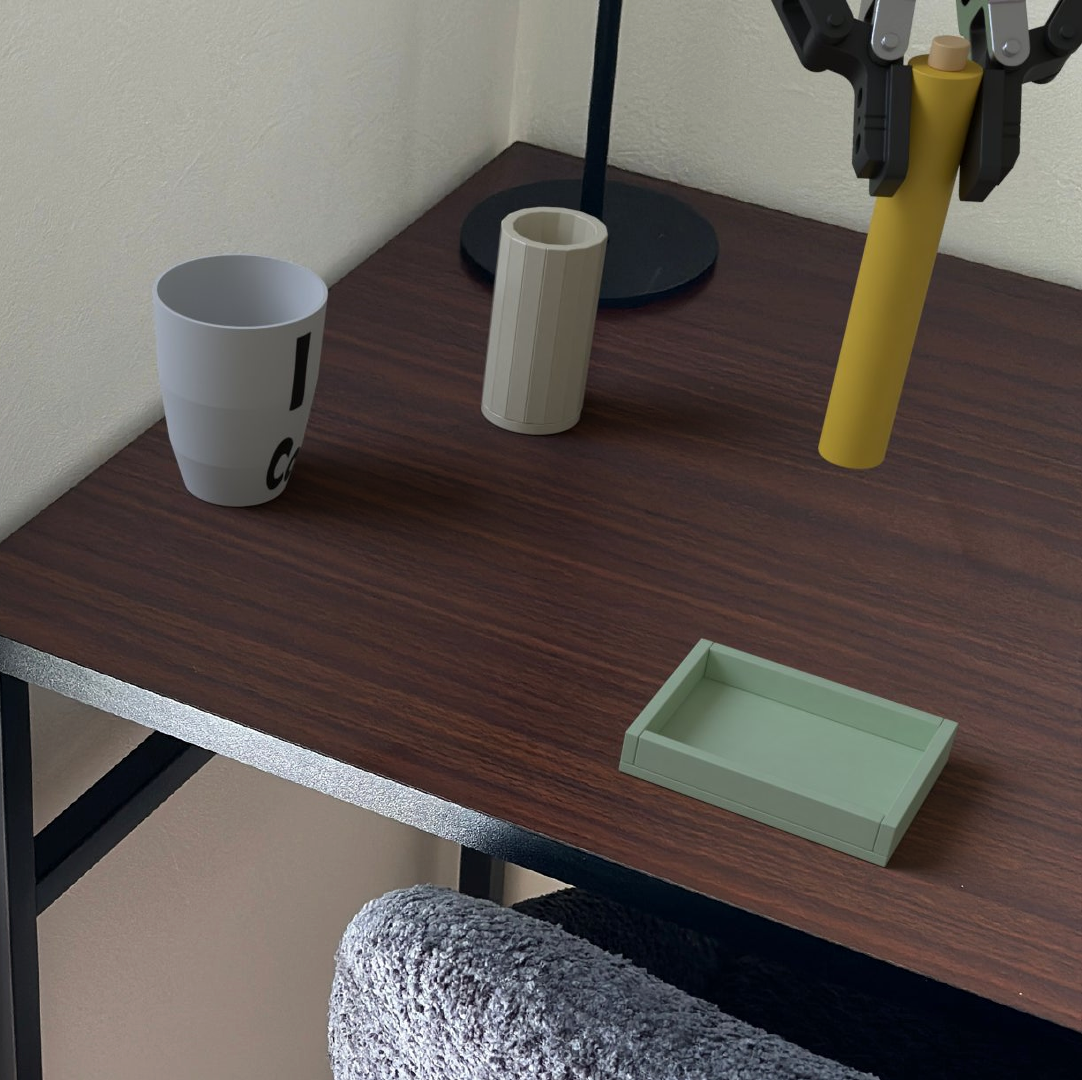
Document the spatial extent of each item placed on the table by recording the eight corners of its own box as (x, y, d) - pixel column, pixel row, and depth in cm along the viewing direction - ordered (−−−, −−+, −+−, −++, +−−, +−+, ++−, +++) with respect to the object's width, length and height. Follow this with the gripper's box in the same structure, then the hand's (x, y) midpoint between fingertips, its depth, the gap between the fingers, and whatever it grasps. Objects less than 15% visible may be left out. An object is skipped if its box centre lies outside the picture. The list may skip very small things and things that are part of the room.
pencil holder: (577, 390, 111) (603, 209, 105) (583, 437, 107) (611, 251, 101) (479, 385, 111) (499, 204, 105) (482, 432, 107) (503, 246, 101)
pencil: (878, 439, 78) (981, 30, 68) (889, 471, 76) (997, 55, 67) (813, 436, 78) (907, 26, 68) (823, 467, 76) (921, 51, 67)
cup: (303, 531, 99) (314, 336, 93) (136, 512, 100) (136, 318, 94) (326, 450, 105) (338, 262, 99) (169, 433, 106) (171, 245, 100)
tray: (947, 761, 86) (959, 722, 85) (884, 868, 81) (896, 827, 79) (693, 675, 91) (701, 637, 89) (618, 770, 85) (625, 731, 84)
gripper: (770, -391, 67) (747, 130, 65) (1210, -373, 66) (1198, 152, 65) (721, -245, 74) (699, 225, 72) (1117, -228, 74) (1103, 246, 72)
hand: (934, 188), depth 69 cm, fingers closed on pencil, 2 cm apart
